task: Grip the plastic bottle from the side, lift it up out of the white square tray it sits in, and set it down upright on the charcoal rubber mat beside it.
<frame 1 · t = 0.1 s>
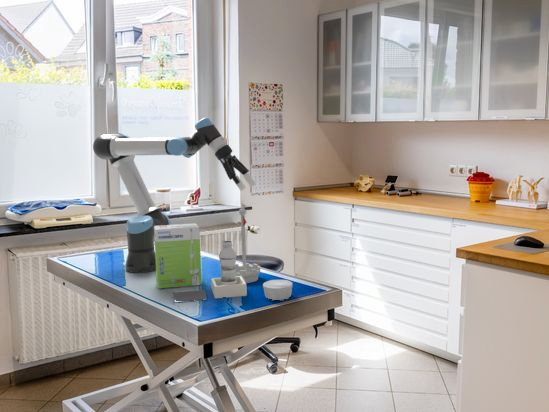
hand: (248, 187, 259), 36 cm above the table, tool tilted 35°, fingers open, 13 cm apart
plastic bottle: (228, 293, 225), resting in white square tray
ramekin: (278, 297, 218), on the table
rubber mat: (189, 296, 221), on the table
white square tray: (228, 292, 225), on the table
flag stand: (244, 279, 243), on the table
green white carton: (179, 284, 239), on the table
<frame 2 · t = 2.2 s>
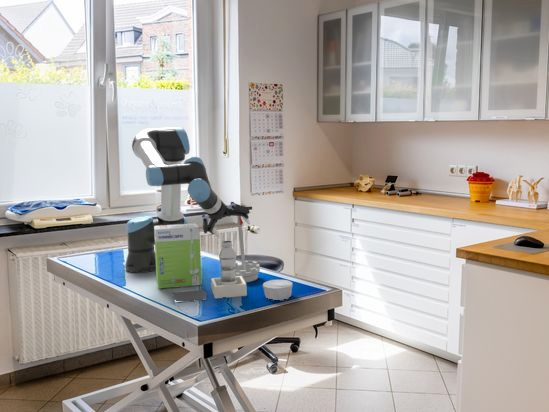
hand: (233, 228, 240), 22 cm above the table, tool tilted 55°, fingers open, 13 cm apart
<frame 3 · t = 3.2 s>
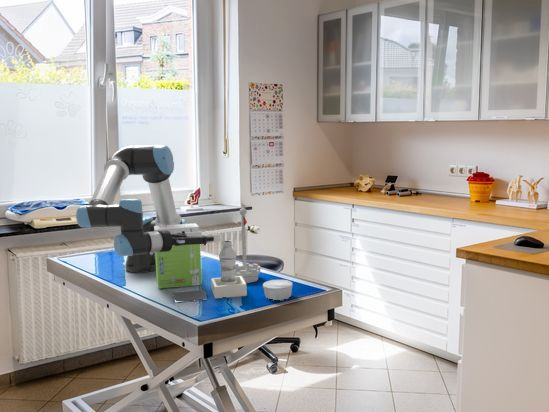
hand: (210, 236, 220), 23 cm above the table, tool horizontal, fingers open, 13 cm apart
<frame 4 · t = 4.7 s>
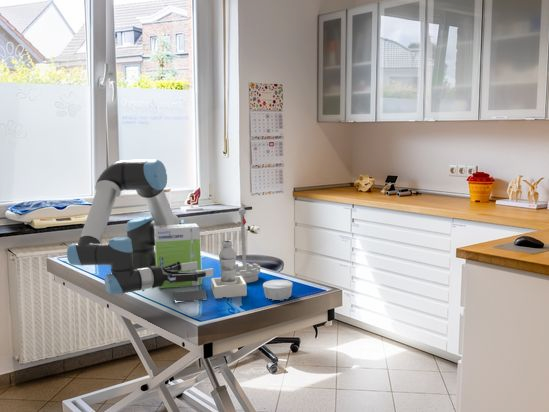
hand: (204, 268, 218), 11 cm above the table, tool horizontal, fingers open, 13 cm apart
nothing on the table moved.
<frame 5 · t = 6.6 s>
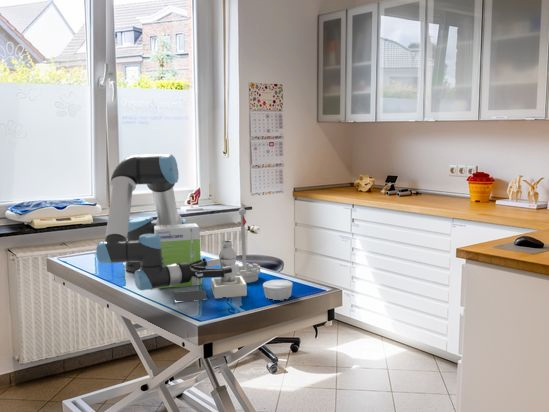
hand: (230, 264, 223), 11 cm above the table, tool horizontal, fingers open, 13 cm apart
nothing on the table moved.
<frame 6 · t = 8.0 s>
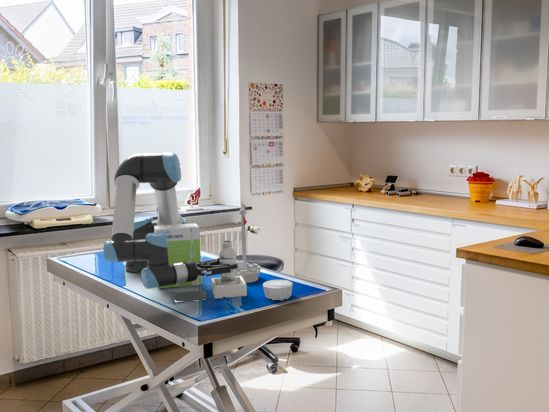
hand: (239, 262, 226), 11 cm above the table, tool horizontal, fingers closed on plastic bottle, 6 cm apart
plastic bottle: (228, 293, 225), resting in white square tray, touching gripper
everything else where it was.
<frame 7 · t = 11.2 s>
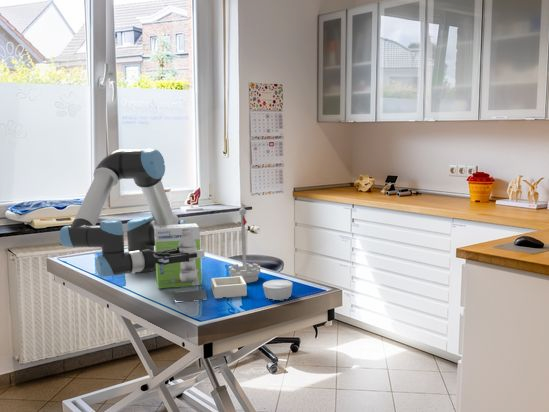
hand: (200, 251, 221), 17 cm above the table, tool horizontal, fingers closed on plastic bottle, 6 cm apart
plastic bottle: (188, 282, 220), point 6 cm above the table, touching gripper
everything else where it was.
when the fingers open (13 cm above the table, at t = 12.1 s): plastic bottle drops 1 cm, resting on rubber mat.
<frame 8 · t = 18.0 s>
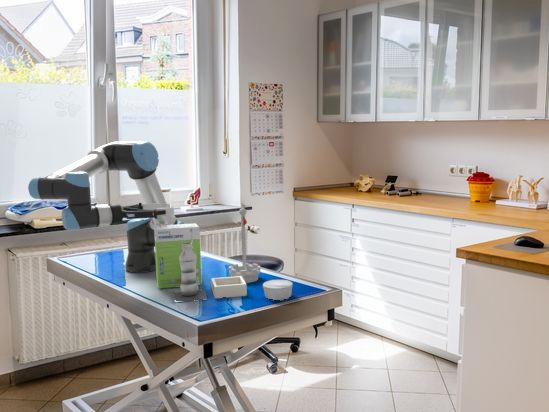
hand: (166, 208, 215), 34 cm above the table, tool horizontal, fingers open, 13 cm apart
plastic bottle: (189, 295, 221), resting on rubber mat
everything else where it was.
at the end: plastic bottle inside the target area on the rubber mat (0.2 cm from its centre), point 0.3 cm above the rubber mat's base; plastic bottle tilted 0°; the gripper is holding nothing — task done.
